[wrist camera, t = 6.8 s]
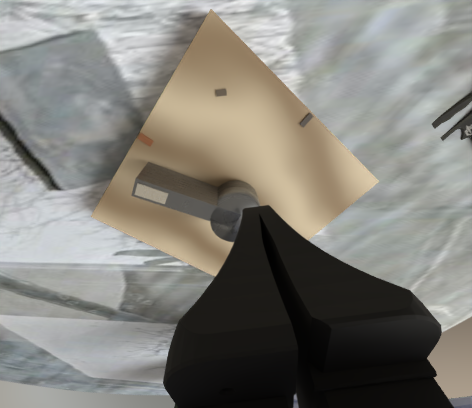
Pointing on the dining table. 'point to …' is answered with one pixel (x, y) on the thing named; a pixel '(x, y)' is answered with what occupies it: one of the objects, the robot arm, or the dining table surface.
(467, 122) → the tan long tool
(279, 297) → the robot arm
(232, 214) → the dial lever
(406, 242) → the dining table surface
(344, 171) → the board
